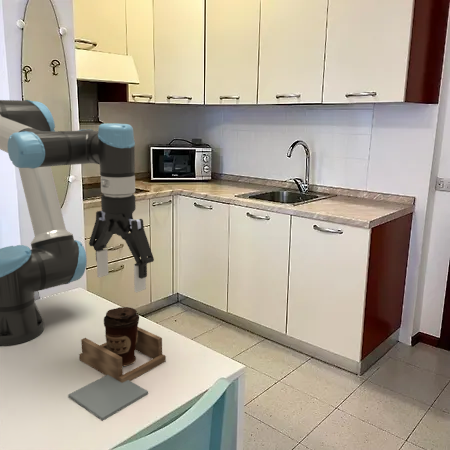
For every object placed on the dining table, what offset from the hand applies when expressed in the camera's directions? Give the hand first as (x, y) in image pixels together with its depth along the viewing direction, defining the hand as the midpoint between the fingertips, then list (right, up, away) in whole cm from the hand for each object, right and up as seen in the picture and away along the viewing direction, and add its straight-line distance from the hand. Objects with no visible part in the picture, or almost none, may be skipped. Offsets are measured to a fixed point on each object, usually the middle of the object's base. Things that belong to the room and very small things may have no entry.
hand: (120, 283), depth 110 cm
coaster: (-1, -23, -9) cm, 25 cm away
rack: (-1, -20, +5) cm, 20 cm away
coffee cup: (-1, -20, +5) cm, 21 cm away
